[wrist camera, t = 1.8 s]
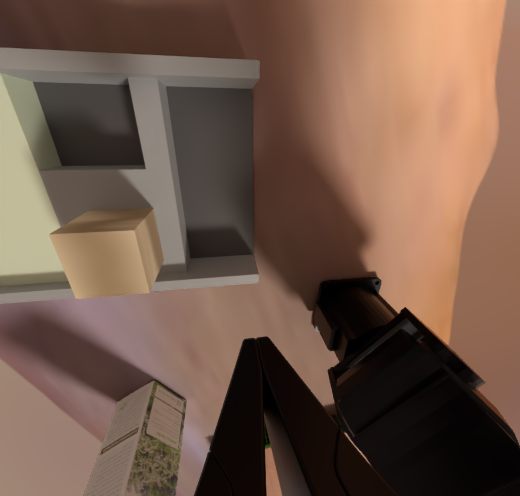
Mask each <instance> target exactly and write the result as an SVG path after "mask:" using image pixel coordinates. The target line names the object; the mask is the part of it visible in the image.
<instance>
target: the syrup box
mask: <svg viewBox="0 0 520 496" xmlns="http://www.w3.org/2000/svg"><path fill="white" fill-rule="evenodd" d="M186 403H187V402H186V400H184V399H182V398H181V397H179V396H178V395H176V394H175V393H173V392H171V391H170V390H168V389H167V388H165V387H164V386H162V385H161V384H159V383H158V382H156V381H152V382H150V383H148V384H146V385H144V386H143V387H141V388H139V389H138V390H136V391H134V392H133V393H131V394H129V395H128V396H126V397H125V398H123V399H121V400H120V401H118V403H117V405H116V407H115V410H114V413H113V416H112V418H111V421H110V424H109V427H108V430H107V433H106V436H105V438H104V441H103V444H102V446H101V449H100V452H99V454H98V457H97V460H96V462H95V465H94V468H93V470H92V473H91V475H90V478H89V481H88V484H87V486H86V489H85V491H84V494H83V496H176V487H177V479H178V471H179V463H180V453H181V445H182V437H183V428H184V419H185V411H186Z"/></svg>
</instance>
